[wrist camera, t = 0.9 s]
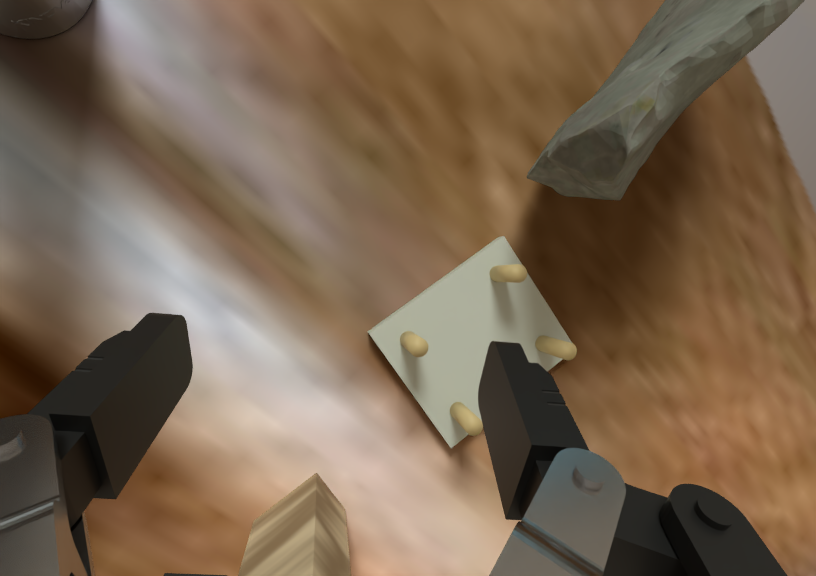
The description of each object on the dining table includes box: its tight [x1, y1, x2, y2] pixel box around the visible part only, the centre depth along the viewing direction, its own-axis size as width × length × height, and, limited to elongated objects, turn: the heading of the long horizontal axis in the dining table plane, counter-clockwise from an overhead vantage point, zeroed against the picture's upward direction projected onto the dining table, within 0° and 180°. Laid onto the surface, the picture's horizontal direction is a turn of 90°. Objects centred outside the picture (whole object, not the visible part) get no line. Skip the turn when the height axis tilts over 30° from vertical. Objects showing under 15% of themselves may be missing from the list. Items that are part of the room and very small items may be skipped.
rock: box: [527, 0, 804, 200], centre depth 29 cm, size 27×6×20 cm, turn 142°
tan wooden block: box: [238, 473, 351, 576], centre depth 28 cm, size 4×6×14 cm, turn 126°
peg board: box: [368, 236, 577, 448], centre depth 35 cm, size 12×14×5 cm
